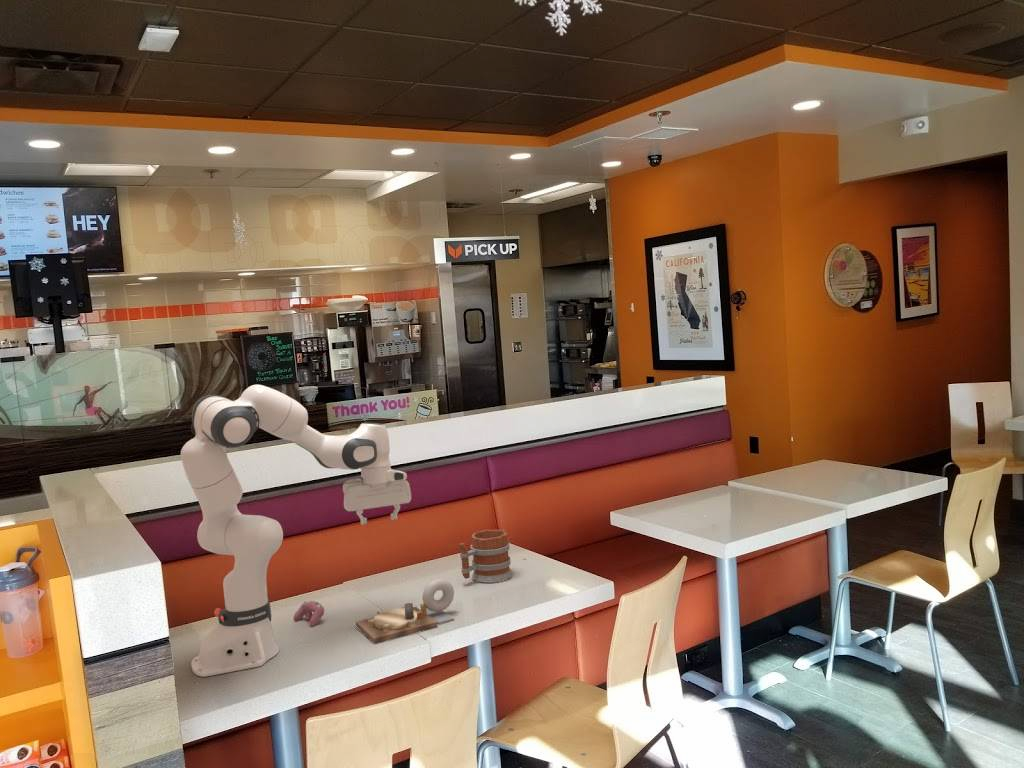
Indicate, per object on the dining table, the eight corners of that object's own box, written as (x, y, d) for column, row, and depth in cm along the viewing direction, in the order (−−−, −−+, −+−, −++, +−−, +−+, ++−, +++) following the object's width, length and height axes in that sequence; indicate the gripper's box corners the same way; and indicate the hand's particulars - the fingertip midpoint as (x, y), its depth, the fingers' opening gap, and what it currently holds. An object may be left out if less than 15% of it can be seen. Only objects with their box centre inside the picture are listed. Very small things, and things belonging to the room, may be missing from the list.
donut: (421, 612, 235) (429, 578, 236) (417, 608, 238) (424, 575, 239) (451, 614, 240) (459, 581, 241) (446, 610, 243) (454, 578, 244)
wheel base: (374, 643, 222) (373, 628, 221) (356, 626, 236) (354, 611, 235) (437, 627, 231) (436, 611, 231) (416, 611, 245) (415, 597, 245)
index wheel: (402, 634, 223) (400, 614, 222) (357, 628, 230) (356, 609, 230) (432, 615, 236) (431, 596, 236) (390, 609, 244) (388, 591, 243)
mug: (521, 575, 272) (518, 532, 271) (476, 590, 260) (472, 545, 259) (495, 568, 283) (492, 526, 282) (451, 582, 271) (447, 538, 270)
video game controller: (322, 628, 241) (329, 605, 243) (309, 626, 237) (316, 602, 239) (303, 622, 247) (310, 599, 249) (291, 620, 244) (298, 597, 246)
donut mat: (438, 624, 233) (438, 622, 233) (421, 612, 244) (421, 610, 244) (454, 620, 235) (454, 618, 235) (436, 608, 247) (436, 606, 246)
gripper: (345, 481, 233) (348, 529, 234) (411, 473, 243) (414, 518, 243) (339, 479, 239) (342, 525, 239) (404, 470, 248) (407, 515, 249)
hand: (379, 521), depth 241 cm, fingers open, 8 cm apart
